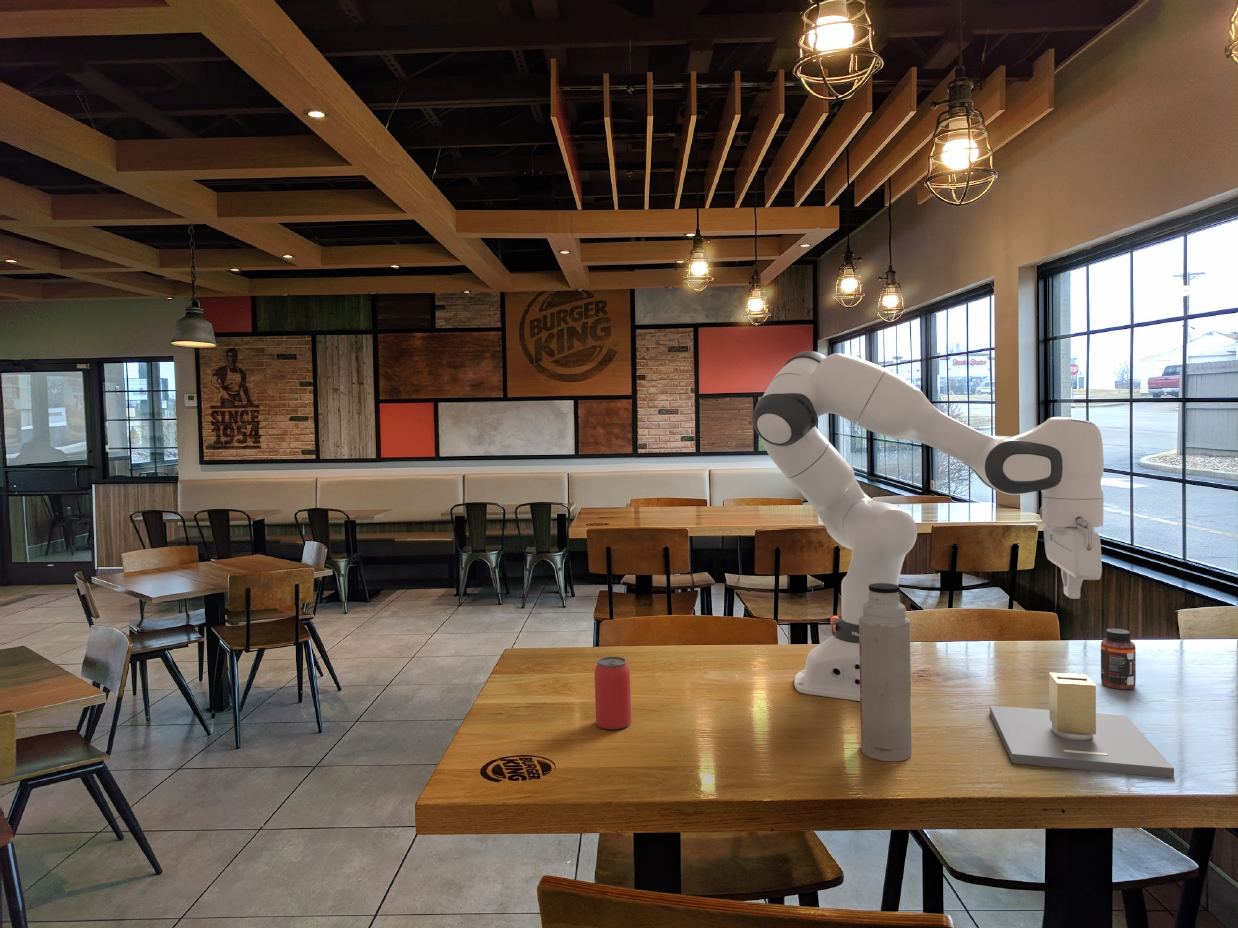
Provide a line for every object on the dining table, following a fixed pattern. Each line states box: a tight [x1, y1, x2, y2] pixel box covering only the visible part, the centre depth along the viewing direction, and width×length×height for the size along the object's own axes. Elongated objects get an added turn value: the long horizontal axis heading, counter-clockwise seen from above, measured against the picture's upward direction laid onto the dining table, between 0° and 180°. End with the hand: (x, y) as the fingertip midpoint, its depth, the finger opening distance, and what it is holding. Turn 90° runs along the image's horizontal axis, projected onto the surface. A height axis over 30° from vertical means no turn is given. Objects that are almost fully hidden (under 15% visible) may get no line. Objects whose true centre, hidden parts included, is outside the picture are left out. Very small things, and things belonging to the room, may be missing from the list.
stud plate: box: [989, 705, 1175, 779], centre depth 129 cm, size 22×22×10 cm
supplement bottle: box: [1100, 628, 1137, 690], centre depth 156 cm, size 6×6×11 cm
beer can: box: [594, 656, 632, 731], centre depth 143 cm, size 7×7×12 cm
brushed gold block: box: [1048, 672, 1097, 735], centre depth 129 cm, size 6×6×8 cm
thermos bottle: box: [859, 583, 913, 763], centre depth 127 cm, size 8×8×28 cm
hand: (1071, 596), depth 128 cm, fingers closed
